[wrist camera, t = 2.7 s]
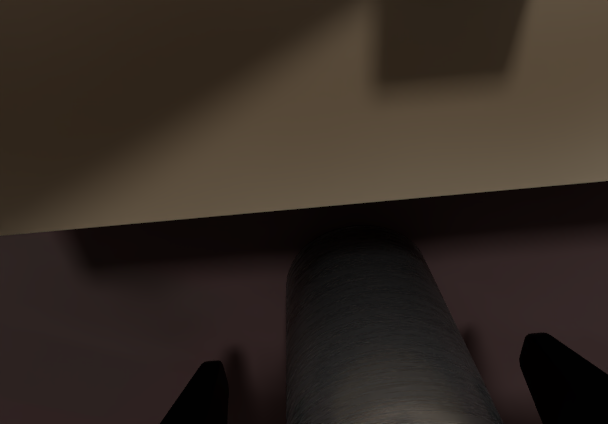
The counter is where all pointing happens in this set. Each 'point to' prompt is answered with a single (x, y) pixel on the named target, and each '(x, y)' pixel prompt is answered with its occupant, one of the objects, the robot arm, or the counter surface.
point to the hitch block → (290, 104)
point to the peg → (375, 337)
